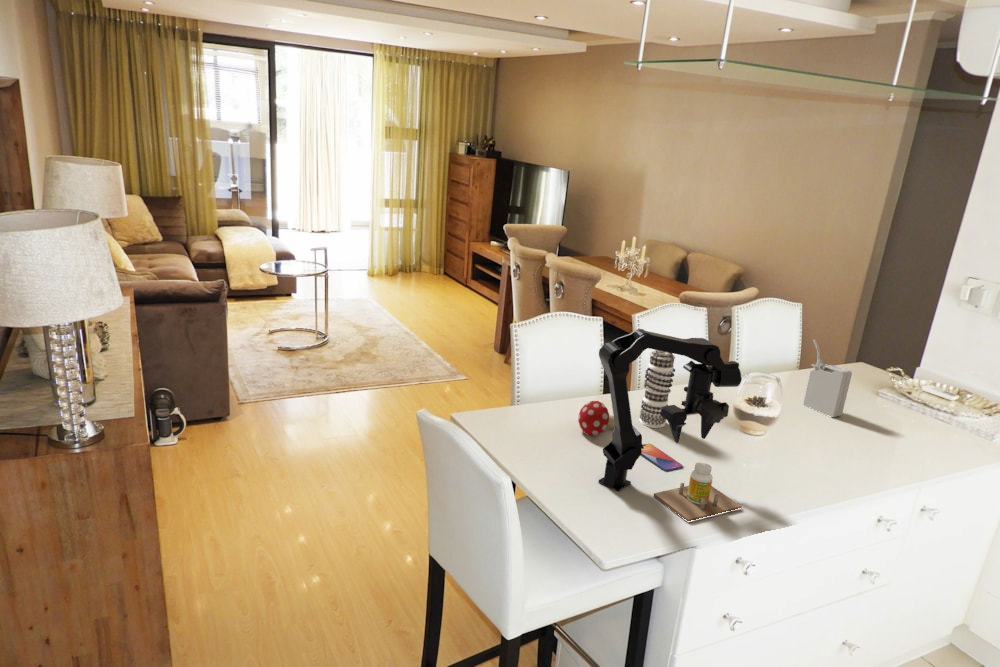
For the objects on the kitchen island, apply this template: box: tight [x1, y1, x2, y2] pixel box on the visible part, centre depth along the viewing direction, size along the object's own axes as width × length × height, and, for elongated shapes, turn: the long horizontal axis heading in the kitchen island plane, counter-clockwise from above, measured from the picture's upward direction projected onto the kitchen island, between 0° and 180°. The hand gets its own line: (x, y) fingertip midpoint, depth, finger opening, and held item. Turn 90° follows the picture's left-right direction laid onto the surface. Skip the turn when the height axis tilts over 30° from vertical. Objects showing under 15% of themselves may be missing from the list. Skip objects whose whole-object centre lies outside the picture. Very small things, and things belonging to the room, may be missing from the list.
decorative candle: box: [638, 349, 676, 429], centre depth 216 cm, size 9×9×25 cm
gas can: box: [803, 338, 853, 418], centre depth 240 cm, size 15×5×25 cm, turn 26°
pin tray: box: [653, 482, 743, 521], centre depth 171 cm, size 18×13×4 cm
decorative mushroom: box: [577, 400, 615, 437], centre depth 208 cm, size 11×11×15 cm
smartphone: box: [640, 443, 683, 472], centre depth 195 cm, size 7×15×1 cm, turn 28°
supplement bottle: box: [687, 461, 713, 505], centre depth 170 cm, size 5×5×10 cm
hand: (689, 440), depth 179 cm, fingers open, 9 cm apart
